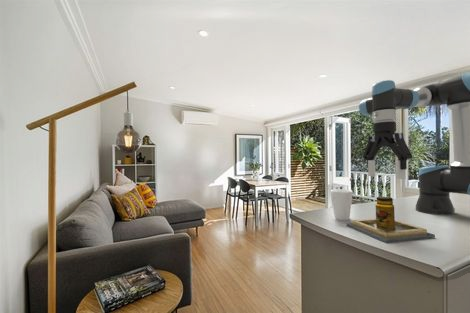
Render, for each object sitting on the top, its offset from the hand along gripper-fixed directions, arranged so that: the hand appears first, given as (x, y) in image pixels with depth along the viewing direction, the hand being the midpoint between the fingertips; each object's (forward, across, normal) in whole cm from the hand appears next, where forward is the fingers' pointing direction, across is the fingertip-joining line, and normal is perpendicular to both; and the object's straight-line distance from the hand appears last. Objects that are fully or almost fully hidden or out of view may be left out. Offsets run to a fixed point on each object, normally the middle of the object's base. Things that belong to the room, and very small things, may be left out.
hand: (385, 177), depth 90 cm
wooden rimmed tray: (+21, 0, 0) cm, 21 cm away
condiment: (+20, 0, 0) cm, 20 cm away
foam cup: (+21, -21, -4) cm, 30 cm away
